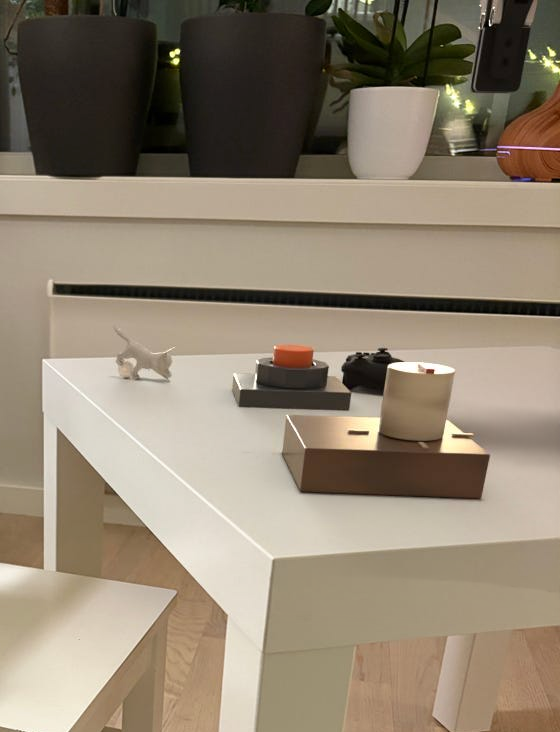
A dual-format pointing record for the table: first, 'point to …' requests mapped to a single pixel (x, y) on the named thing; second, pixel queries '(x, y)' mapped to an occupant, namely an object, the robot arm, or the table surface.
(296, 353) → the button
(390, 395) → the dial
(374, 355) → the game controller
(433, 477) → the panel
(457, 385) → the table surface
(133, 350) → the beige animal figurine
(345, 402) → the button block
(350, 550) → the table surface
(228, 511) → the table surface
